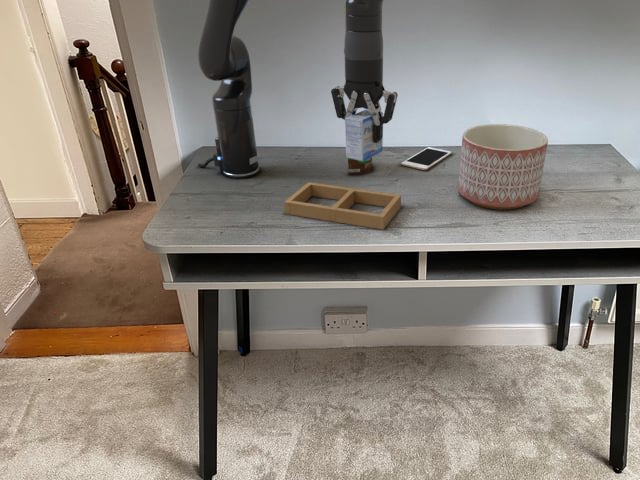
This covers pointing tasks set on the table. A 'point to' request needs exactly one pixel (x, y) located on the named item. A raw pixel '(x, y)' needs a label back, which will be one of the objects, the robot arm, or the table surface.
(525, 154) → the planter
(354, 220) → the wooden divided frame
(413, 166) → the cell phone
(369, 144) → the medicine box
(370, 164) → the food container
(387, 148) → the table surface
